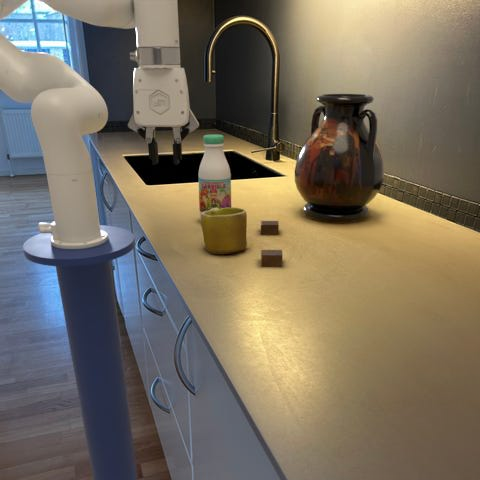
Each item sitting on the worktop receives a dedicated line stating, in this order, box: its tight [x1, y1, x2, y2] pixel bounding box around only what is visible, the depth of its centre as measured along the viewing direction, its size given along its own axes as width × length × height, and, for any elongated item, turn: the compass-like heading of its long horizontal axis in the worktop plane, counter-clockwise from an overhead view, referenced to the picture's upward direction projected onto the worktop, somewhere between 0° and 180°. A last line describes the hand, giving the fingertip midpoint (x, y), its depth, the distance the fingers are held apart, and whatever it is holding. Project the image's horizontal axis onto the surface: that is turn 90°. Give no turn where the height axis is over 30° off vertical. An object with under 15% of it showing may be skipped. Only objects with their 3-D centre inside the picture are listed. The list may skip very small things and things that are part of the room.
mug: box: [200, 206, 248, 255], centre depth 106 cm, size 12×10×10 cm
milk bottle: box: [198, 134, 232, 222], centre depth 121 cm, size 8×8×20 cm
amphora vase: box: [294, 93, 385, 224], centre depth 123 cm, size 22×22×28 cm
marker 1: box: [260, 220, 280, 236], centre depth 116 cm, size 4×3×2 cm
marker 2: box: [260, 249, 283, 268], centre depth 98 cm, size 4×3×2 cm
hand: (166, 162), depth 101 cm, fingers open, 3 cm apart
